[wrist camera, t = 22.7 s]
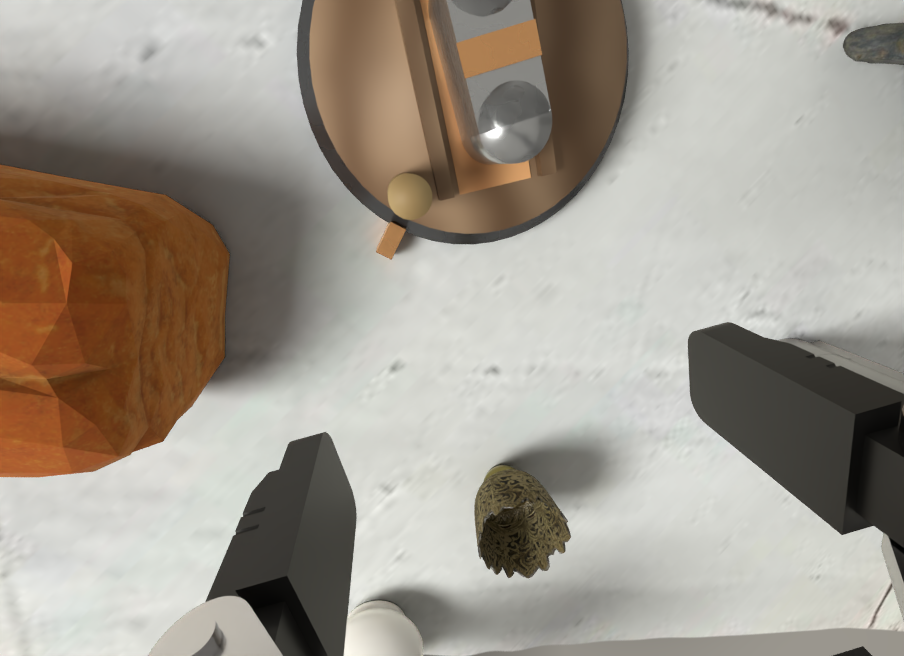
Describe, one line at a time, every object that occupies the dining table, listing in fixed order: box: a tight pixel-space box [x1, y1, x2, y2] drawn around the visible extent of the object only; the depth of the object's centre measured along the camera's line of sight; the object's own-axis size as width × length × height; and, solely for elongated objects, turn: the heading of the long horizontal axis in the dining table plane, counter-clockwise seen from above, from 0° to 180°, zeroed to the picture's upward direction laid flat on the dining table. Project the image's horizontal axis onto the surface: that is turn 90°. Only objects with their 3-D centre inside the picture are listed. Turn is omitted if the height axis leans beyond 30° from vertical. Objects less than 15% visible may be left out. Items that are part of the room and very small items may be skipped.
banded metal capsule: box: [428, 0, 552, 165], centre depth 25 cm, size 4×11×6 cm, turn 17°
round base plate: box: [297, 0, 628, 259], centre depth 30 cm, size 22×22×2 cm
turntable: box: [309, 0, 627, 234], centre depth 26 cm, size 20×20×8 cm
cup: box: [475, 465, 571, 578], centre depth 39 cm, size 8×7×8 cm
